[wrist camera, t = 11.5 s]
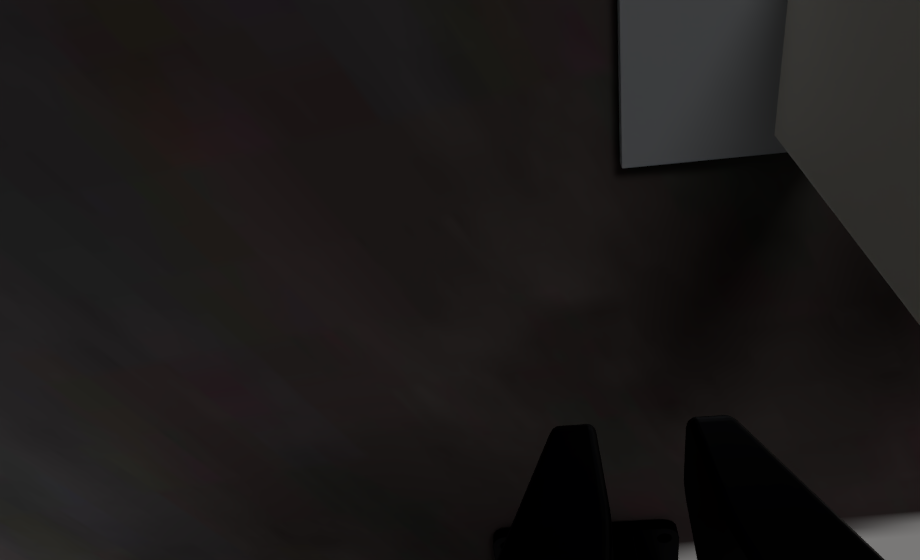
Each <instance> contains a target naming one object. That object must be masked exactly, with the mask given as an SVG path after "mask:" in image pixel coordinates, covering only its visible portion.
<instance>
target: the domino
mask: <svg viewBox="0 0 920 560" xmlns="http://www.w3.org/2000/svg"><path fill="white" fill-rule="evenodd" d="M774 135H775V136H776V138H777V139H778V140H779V142H780V143H781V144H782V146H783V147H784V148H785V150H786V151H787V152H788V153H789V155H790V156H791V157H792V159H793V160H794V161H795V163H796V164H797V165H798V167H799V168H800V169H801V171H802V172H803V173H804V174H805V176H806V177H807V178H808V180H809V181H810V182H811V184H812V185H813V186H814V188H815V189H816V190H817V191H818V193H819V194H820V195H821V197H822V198H823V199H824V201H825V202H826V203H827V205H828V206H829V207H830V208H831V210H832V211H833V212H834V214H835V215H836V216H837V218H838V219H839V220H840V222H841V223H842V224H843V225H844V227H845V228H846V229H847V231H848V232H849V233H850V235H851V236H852V237H853V239H854V240H855V241H856V243H857V244H858V245H859V246H860V248H861V249H862V250H863V252H864V253H865V254H866V256H867V257H868V258H869V260H870V261H871V262H872V263H873V265H874V266H875V267H876V269H877V270H878V271H879V273H880V274H881V275H882V277H883V278H884V279H885V280H886V282H887V283H888V284H889V286H890V287H891V288H892V290H893V291H894V292H895V294H896V295H897V296H898V298H899V299H900V300H901V301H902V303H903V304H904V305H905V307H906V308H907V309H908V311H909V312H910V313H911V315H912V316H913V317H914V318H915V320H916V321H917V322H918V324H919V325H920V0H788V3H787V13H786V23H785V33H784V43H783V53H782V63H781V73H780V83H779V93H778V103H777V113H776V123H775V133H774Z"/></svg>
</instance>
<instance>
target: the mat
mask: <svg viewBox="0 0 920 560" xmlns="http://www.w3.org/2000/svg"><path fill="white" fill-rule="evenodd" d="M787 3H788V0H617V10H618V73H619V136H620V164H621V167H622V168H632V167H642V166H652V165H662V164H672V163H683V162H693V161H703V160H713V159H723V158H734V157H744V156H754V155H764V154H774V153H785V152H787V151H786V150H785V148H784V147H783V146H782V144H781V143H780V142H779V140H778V139H777V138H776V136H775V135H774V133H775V123H776V113H777V103H778V93H779V83H780V73H781V63H782V53H783V43H784V33H785V23H786V13H787Z"/></svg>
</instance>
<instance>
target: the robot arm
mask: <svg viewBox="0 0 920 560" xmlns="http://www.w3.org/2000/svg"><path fill="white" fill-rule="evenodd" d="M684 487H685V495H686V502H687V507H688V512H689V518H690V523H691V528H692V533H693V539H694V544H695V549H696V555H697V560H884V559H883V558H882V557H881V556H880V555H879V554H878V553H877V552H876V551H875V550H874V549H873V548H872V547H871V546H869V544H867V543H866V542H865V541H864V540H863V539H862V538H861V537H860V536H859V535H858V534H857V533H856V532H855V531H854V530H853V529H852V528H851V527H849V526H848V525H847V524H846V523H845V522H844V521H843V520H842V519H841V518H840V517H839V516H838V515H837V514H836V513H835V512H834V511H833V510H831V509H830V508H829V507H828V506H827V505H826V504H825V503H824V502H823V501H822V500H821V499H820V498H819V497H818V496H817V495H816V494H815V493H813V492H812V491H811V490H810V489H809V488H808V487H807V486H806V485H805V484H804V483H803V482H802V481H801V480H800V479H799V478H798V477H797V476H795V475H794V474H793V473H792V472H791V471H790V470H789V469H788V468H787V467H786V466H785V465H784V464H783V463H782V462H781V461H780V460H779V459H777V458H776V457H775V456H774V455H773V454H772V453H771V452H770V451H769V450H768V449H767V448H766V447H765V446H764V445H763V444H762V443H761V442H759V441H758V440H757V439H756V438H755V437H754V436H753V435H752V434H751V433H750V432H749V431H748V430H747V429H746V428H745V427H744V426H743V425H741V424H740V423H739V422H738V421H737V420H736V419H735V418H733V417H731V416H728V415H719V416H703V417H693V418H692V419H690V420H689V421H688V423H687V426H686V440H685V464H684ZM493 548H494V554H495V560H678V549H679V536H678V531H677V527H676V524H675V523H673V522H672V521H669V520H644V521H625V522H611V514H610V507H609V502H608V496H607V490H606V485H605V479H604V474H603V468H602V462H601V457H600V451H599V445H598V440H597V434H596V430H595V428H594V427H593V426H592V425H590V424H582V425H567V426H557V427H555V428H554V429H553V430H552V431H551V433H550V435H549V437H548V439H547V442H546V444H545V446H544V449H543V451H542V454H541V456H540V458H539V461H538V463H537V466H536V468H535V470H534V473H533V475H532V478H531V480H530V483H529V485H528V487H527V490H526V492H525V495H524V497H523V499H522V502H521V504H520V507H519V509H518V511H517V514H516V516H515V519H514V521H513V523H512V526H511V528H502V529H499V530H497V531H496V532H495V533H494V537H493Z"/></svg>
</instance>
